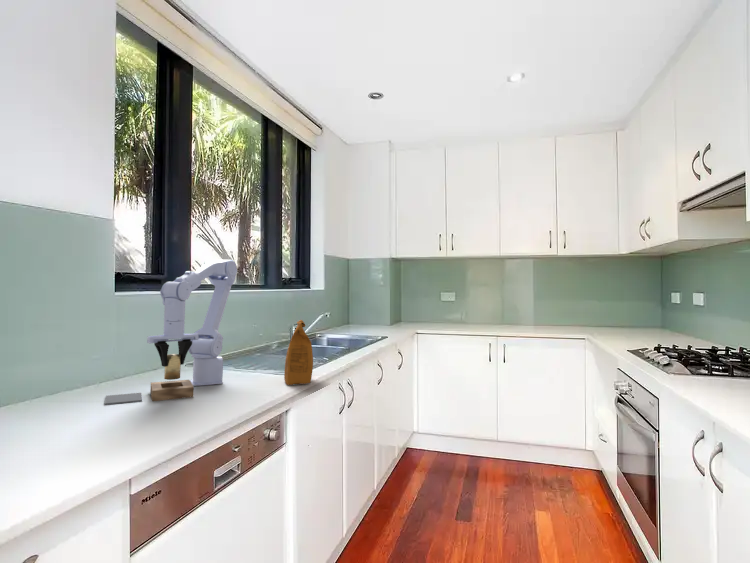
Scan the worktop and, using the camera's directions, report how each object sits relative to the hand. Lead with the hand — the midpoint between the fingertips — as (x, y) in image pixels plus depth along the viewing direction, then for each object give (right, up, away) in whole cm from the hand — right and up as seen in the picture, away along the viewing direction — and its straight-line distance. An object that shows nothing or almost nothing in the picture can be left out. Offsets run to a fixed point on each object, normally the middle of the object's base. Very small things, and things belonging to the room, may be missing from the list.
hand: (172, 365), depth 127 cm
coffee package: (+34, -11, +22) cm, 42 cm away
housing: (0, -9, 0) cm, 9 cm away
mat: (-11, -9, -6) cm, 15 cm away
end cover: (0, -4, 0) cm, 4 cm away
